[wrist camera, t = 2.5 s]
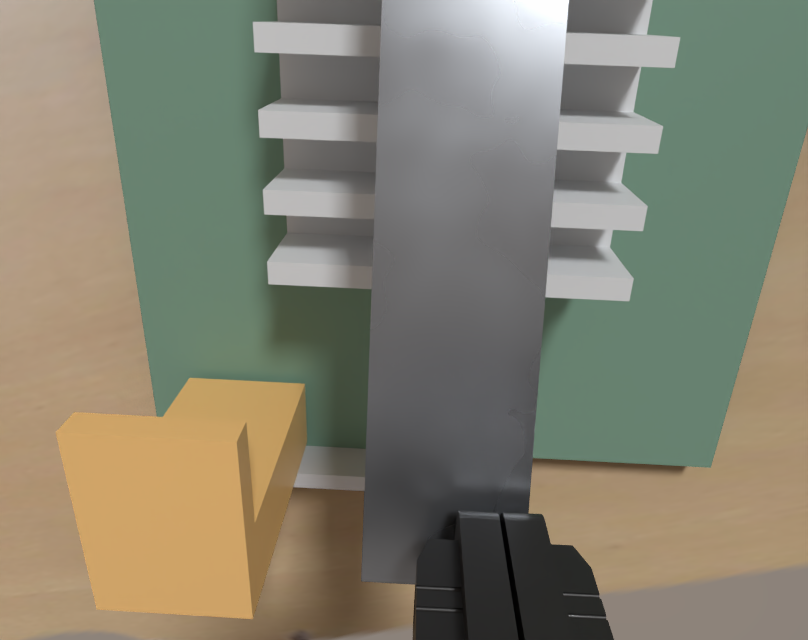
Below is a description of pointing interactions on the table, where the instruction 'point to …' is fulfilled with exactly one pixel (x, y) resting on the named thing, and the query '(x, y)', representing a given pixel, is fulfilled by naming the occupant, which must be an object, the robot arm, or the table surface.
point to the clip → (186, 496)
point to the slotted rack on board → (355, 202)
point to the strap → (457, 266)
